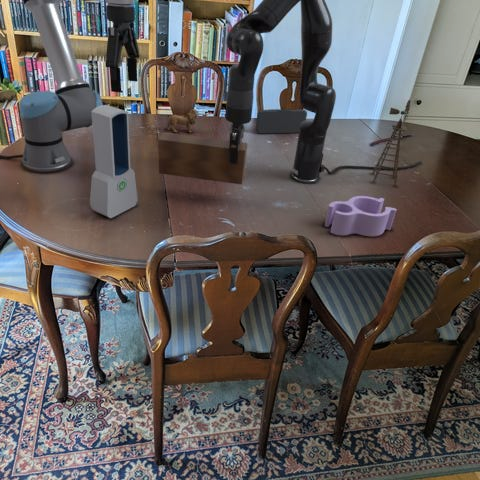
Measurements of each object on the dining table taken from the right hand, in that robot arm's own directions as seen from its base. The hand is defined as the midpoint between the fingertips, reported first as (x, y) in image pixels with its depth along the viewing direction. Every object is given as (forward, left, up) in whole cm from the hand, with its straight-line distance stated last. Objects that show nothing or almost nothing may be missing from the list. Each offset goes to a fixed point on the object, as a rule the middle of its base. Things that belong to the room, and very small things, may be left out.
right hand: (234, 158), depth 141 cm
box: (+7, -7, -7) cm, 12 cm away
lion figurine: (-23, -59, -15) cm, 65 cm away
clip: (-23, +33, -15) cm, 43 cm away
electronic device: (+33, -15, -15) cm, 39 cm away
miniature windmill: (-60, +17, -15) cm, 64 cm away
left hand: (+21, -27, +17) cm, 38 cm away
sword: (-101, -6, -15) cm, 103 cm away
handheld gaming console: (-60, -38, -15) cm, 73 cm away
